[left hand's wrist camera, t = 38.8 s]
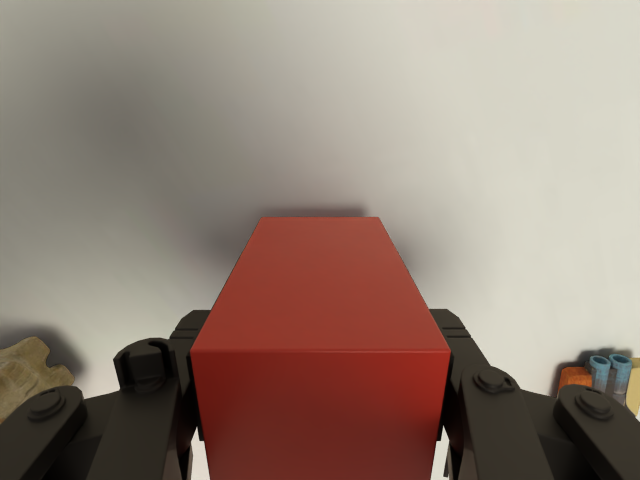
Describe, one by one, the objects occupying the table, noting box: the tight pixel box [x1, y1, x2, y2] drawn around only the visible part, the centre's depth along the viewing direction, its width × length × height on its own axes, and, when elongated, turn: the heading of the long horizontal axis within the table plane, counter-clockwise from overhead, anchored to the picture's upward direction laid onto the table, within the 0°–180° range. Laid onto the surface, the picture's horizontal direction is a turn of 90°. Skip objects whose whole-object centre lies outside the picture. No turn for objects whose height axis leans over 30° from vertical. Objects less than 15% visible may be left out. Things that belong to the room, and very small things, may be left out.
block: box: [190, 217, 451, 480], centre depth 11 cm, size 5×5×8 cm
